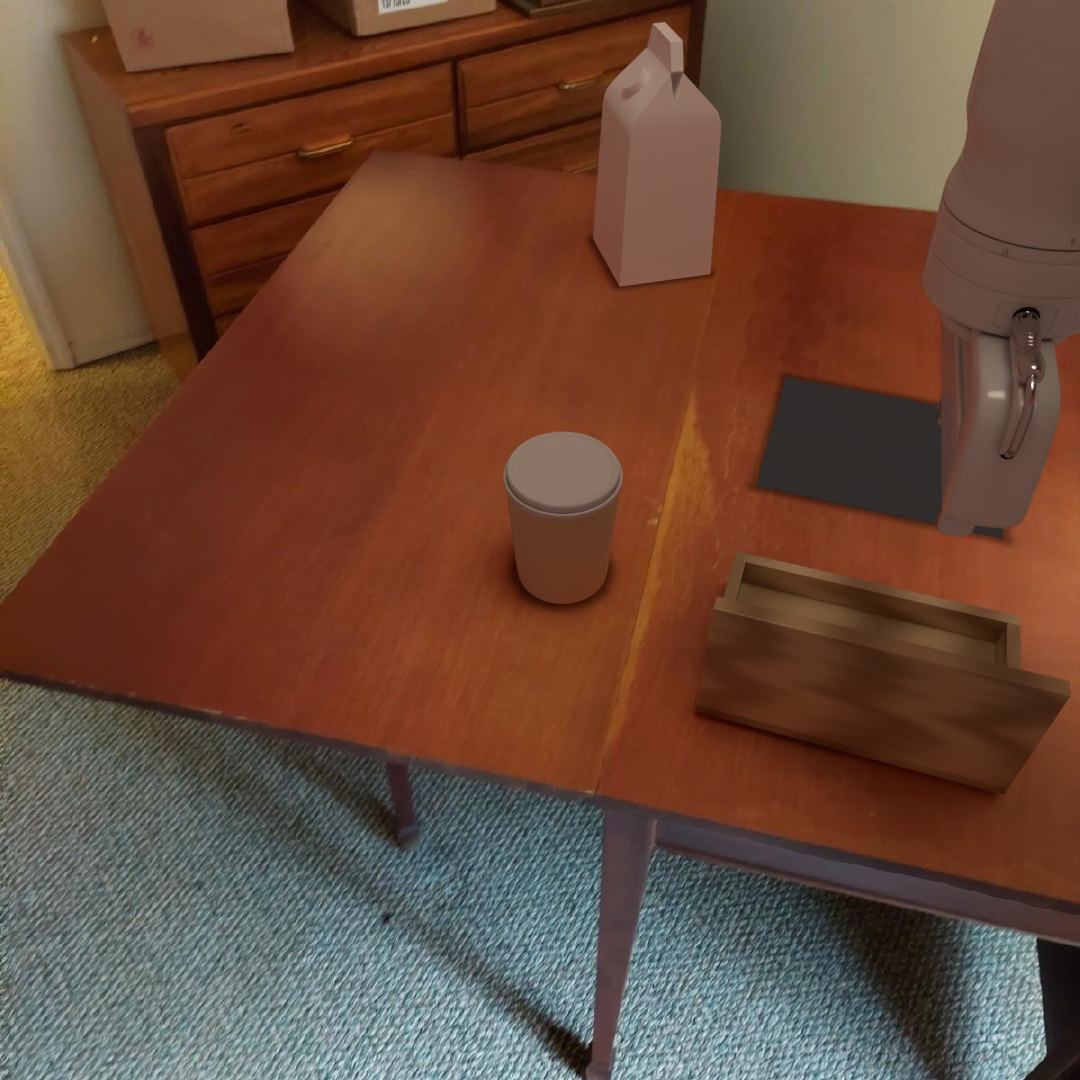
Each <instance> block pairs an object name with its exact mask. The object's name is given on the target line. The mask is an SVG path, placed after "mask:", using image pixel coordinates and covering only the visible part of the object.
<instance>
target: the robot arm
mask: <svg viewBox="0 0 1080 1080" xmlns="http://www.w3.org/2000/svg"><path fill="white" fill-rule="evenodd" d="M980 44H981V45H980V49H979V52H978V55H977V59H976V63H975V66H974V68H973V69H974V70H973V73H972V77H971V81H970V83H969V84H970V85H969V88H968V92H967V97H966V107H965V108H966V127H967V128H966V134H965V135H966V136H965V140H964V144H963V147H962V150H961V152H960V154H959V156H958V158H957V160H956V162H955V163H954V165H953V166H952V168H951V170H950V172H949V173H948V175H947V177H946V180H945V183H944V186H943V189H942V194H941V197H940V201H939V204H938V209H937V212H936V216H935V221H934V225H933V228H932V231H931V236H930V239H929V244H928V248H927V251H926V256H925V259H924V263H923V266H922V269H921V270H922V271H921V276H920V283H921V287H922V290H923V293H924V294H925V296H926V298H927V299H928V300H929V302H930V303H931V304H932V305H933V306H934V307H935V308H936V309H938V316H939V330H940V333H939V338H940V341H939V343H940V394H939V399H938V402H937V404H936V405H937V422H938V424H939V426H941V458H942V499H941V502H940V506H939V508H938V525H936V526H937V531H938V532H939V533H941V534H942V535H947V536H949V535H950V536H955V537H961V538H962V537H963V538H965V537H967V536H971V534H972V533H973V532H972V531H973V529H974V526H975V525H976V526H983V527H992V528H1002V529H1003V530H1004V529H1012V528H1014V527H1016V526H1018V525H1020V524H1021V523H1022V522H1023V521H1024V519H1025V518H1026V517H1027V514H1028V511H1029V509H1030V506H1031V505H1032V501H1033V499H1034V496H1035V493H1036V490H1037V488H1038V486H1039V484H1040V483H1039V482H1040V480H1041V477H1042V475H1043V471H1044V468H1045V466H1046V463H1047V459H1048V457H1049V455H1050V451H1051V448H1052V445H1053V442H1054V438H1055V435H1056V432H1057V428H1058V423H1059V419H1060V414H1061V413H1060V412H1061V404H1062V389H1061V388H1062V387H1061V381H1060V374H1059V368H1058V367H1059V366H1058V360H1057V354H1056V347H1057V346H1059V345H1060V344H1062V343H1063V342H1064V341H1066V339H1068V337H1070V336H1074V335H1078V334H1080V0H994V4H993V5H992V10H991V12H990V16H989V19H988V22H987V24H986V29H985V32H984V33H983V38H982V41H981V43H980Z"/></svg>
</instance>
